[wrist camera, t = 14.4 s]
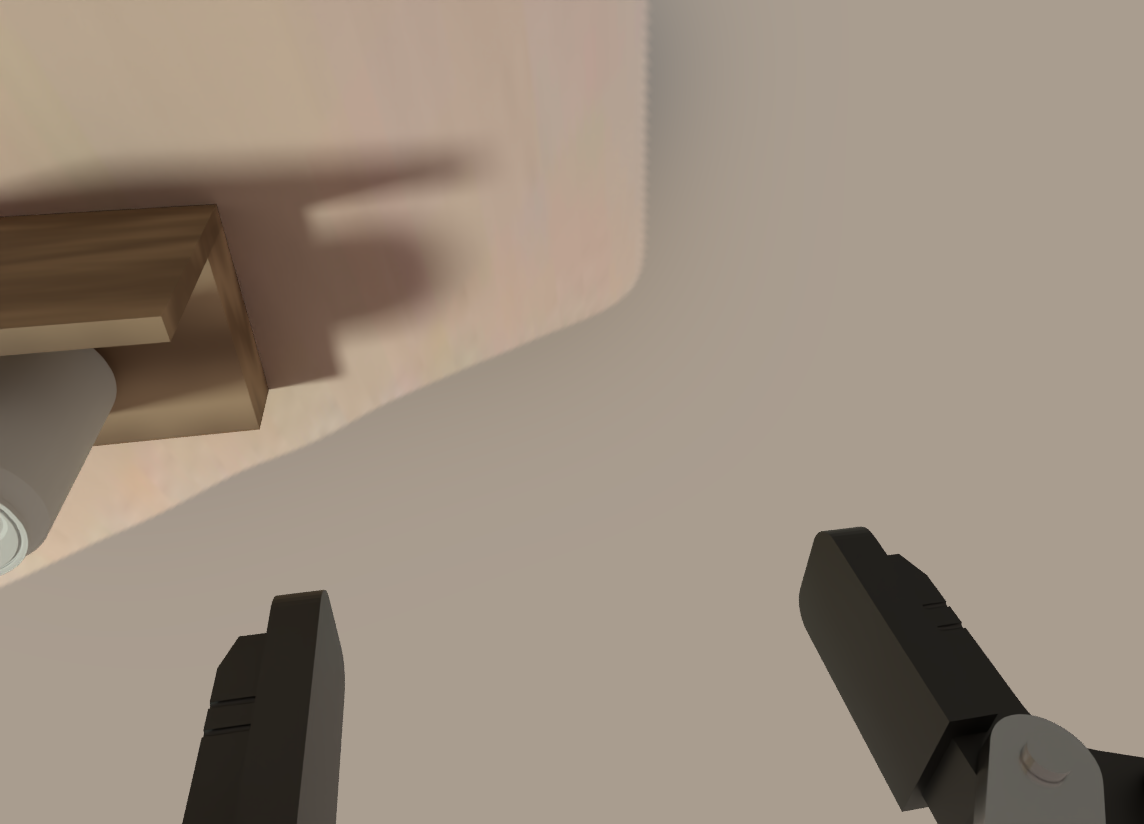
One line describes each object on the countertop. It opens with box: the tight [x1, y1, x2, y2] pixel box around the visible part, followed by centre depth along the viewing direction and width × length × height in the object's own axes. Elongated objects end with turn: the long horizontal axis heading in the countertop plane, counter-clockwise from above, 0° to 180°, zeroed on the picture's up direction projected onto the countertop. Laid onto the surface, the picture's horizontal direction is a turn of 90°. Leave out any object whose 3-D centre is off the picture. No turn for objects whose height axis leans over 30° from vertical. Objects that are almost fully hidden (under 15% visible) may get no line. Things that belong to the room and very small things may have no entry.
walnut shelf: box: [0, 204, 269, 446], centre depth 38 cm, size 12×18×12 cm, turn 90°
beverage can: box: [0, 348, 117, 576], centre depth 35 cm, size 6×6×12 cm
